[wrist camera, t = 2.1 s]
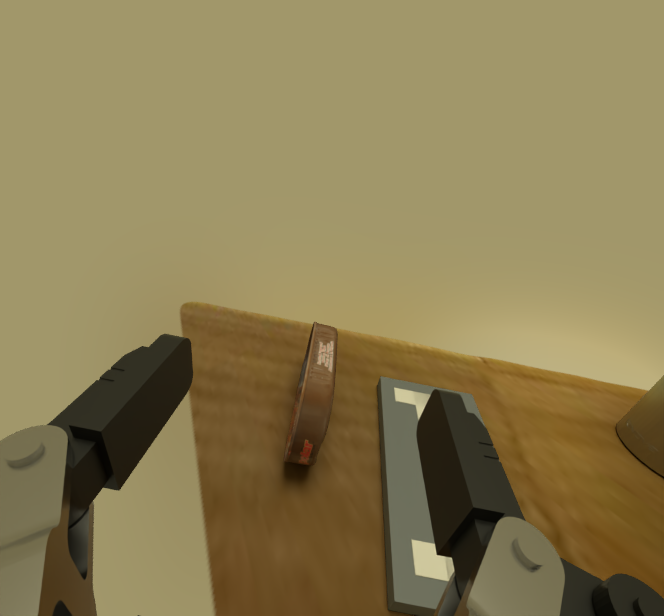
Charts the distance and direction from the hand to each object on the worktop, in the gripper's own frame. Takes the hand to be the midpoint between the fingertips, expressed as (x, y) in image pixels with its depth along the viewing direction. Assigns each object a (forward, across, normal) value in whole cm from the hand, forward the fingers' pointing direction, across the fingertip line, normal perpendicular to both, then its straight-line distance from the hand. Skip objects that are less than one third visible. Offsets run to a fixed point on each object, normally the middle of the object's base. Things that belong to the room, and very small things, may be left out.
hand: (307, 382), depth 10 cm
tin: (+14, 0, +18) cm, 23 cm away
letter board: (+10, -13, +18) cm, 25 cm away
